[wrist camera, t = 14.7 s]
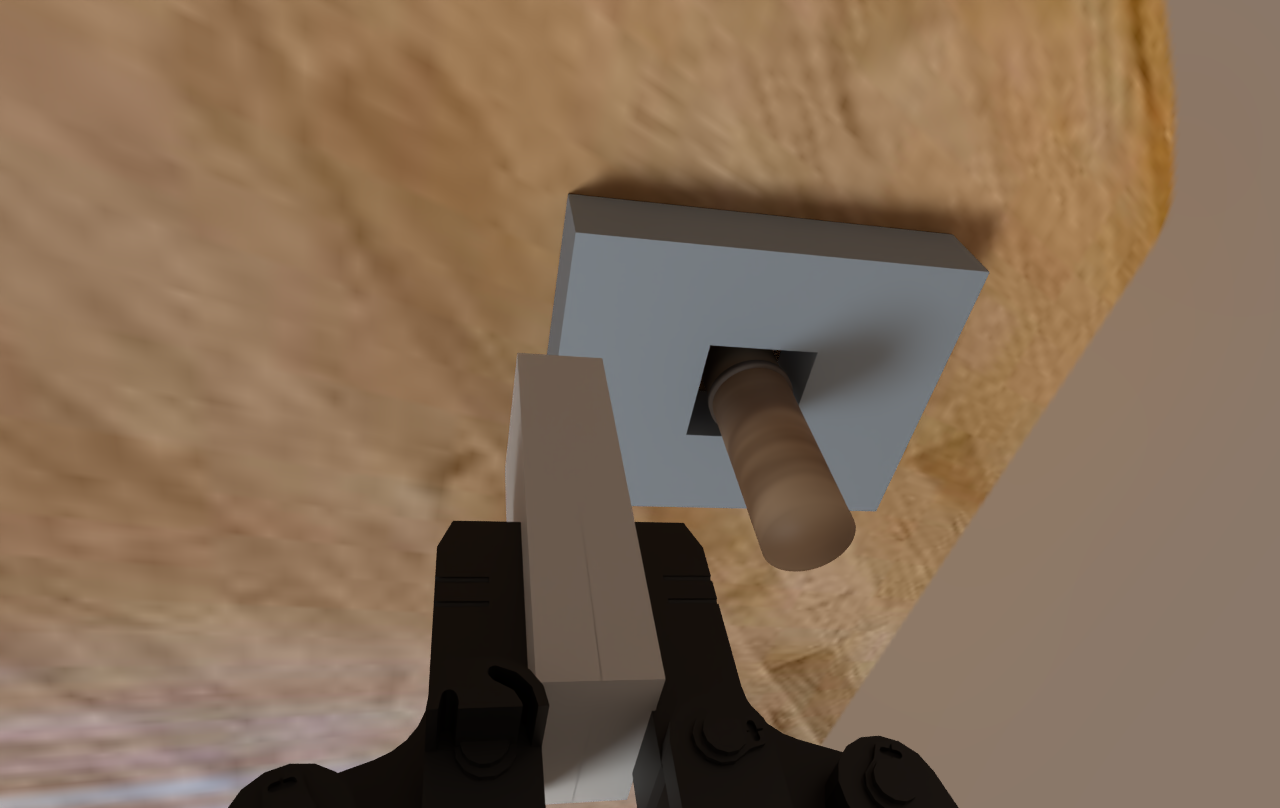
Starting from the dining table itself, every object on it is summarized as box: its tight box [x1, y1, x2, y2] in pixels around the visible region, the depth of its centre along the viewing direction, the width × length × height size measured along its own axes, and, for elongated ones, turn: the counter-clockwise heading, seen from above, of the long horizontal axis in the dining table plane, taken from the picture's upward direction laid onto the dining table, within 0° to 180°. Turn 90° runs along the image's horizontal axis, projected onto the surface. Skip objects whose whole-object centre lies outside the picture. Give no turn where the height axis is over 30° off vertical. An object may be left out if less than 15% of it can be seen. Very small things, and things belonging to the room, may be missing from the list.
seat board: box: [547, 194, 989, 511], centre depth 44 cm, size 16×20×4 cm
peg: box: [701, 345, 856, 571], centre depth 40 cm, size 4×4×14 cm
